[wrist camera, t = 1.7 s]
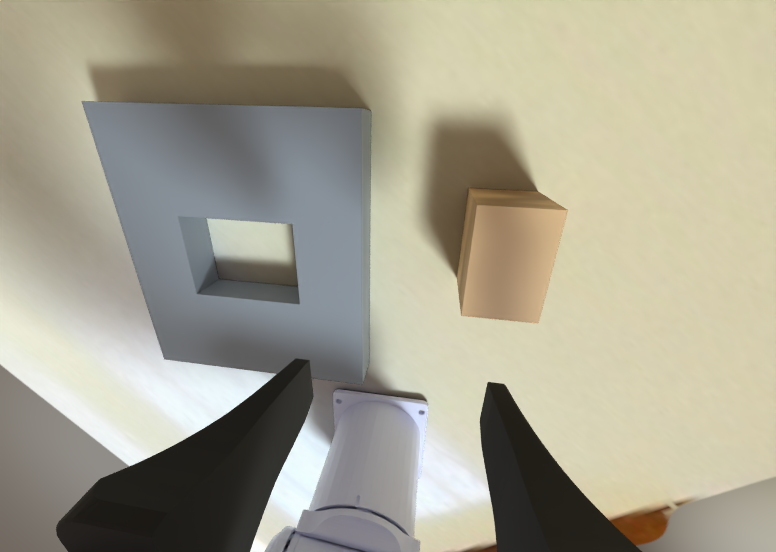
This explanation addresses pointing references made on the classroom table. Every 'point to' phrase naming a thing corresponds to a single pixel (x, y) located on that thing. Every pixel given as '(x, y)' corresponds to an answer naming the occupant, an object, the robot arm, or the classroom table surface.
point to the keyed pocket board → (246, 203)
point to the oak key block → (508, 253)
